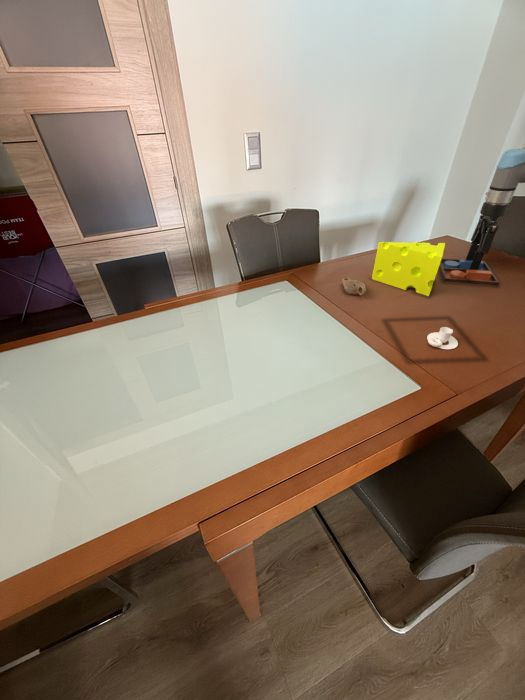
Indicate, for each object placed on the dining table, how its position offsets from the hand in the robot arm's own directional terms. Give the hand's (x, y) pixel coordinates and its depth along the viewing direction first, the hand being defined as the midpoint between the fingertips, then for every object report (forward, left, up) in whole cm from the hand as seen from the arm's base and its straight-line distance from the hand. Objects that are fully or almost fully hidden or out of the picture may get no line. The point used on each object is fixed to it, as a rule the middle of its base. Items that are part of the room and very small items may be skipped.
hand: (471, 264), depth 120 cm
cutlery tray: (+3, +5, -2) cm, 6 cm away
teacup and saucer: (+21, +52, -2) cm, 56 cm away
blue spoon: (+3, 0, -1) cm, 4 cm away
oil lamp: (+44, +28, -2) cm, 52 cm away
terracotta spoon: (+3, +9, -1) cm, 10 cm away
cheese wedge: (+24, +19, -2) cm, 30 cm away
